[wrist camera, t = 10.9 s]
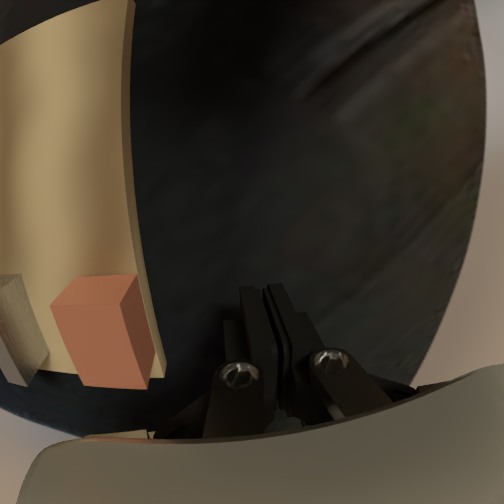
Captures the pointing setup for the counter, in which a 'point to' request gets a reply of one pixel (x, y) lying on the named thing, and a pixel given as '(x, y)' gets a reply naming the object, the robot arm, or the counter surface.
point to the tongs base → (19, 333)
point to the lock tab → (106, 330)
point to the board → (70, 162)
